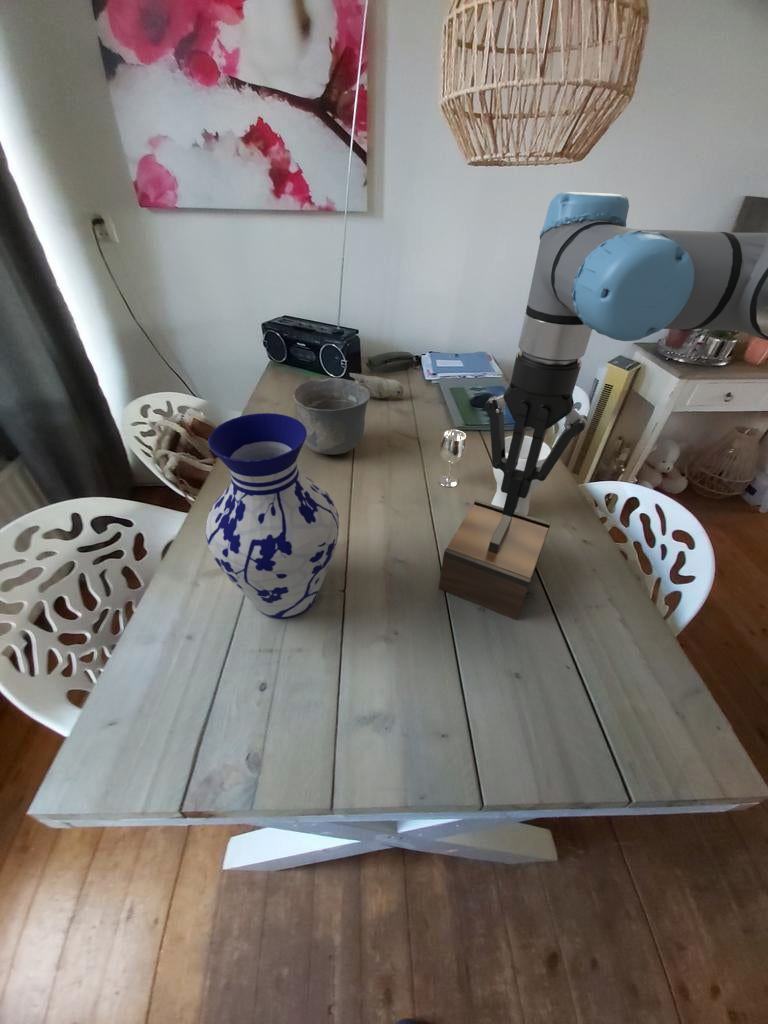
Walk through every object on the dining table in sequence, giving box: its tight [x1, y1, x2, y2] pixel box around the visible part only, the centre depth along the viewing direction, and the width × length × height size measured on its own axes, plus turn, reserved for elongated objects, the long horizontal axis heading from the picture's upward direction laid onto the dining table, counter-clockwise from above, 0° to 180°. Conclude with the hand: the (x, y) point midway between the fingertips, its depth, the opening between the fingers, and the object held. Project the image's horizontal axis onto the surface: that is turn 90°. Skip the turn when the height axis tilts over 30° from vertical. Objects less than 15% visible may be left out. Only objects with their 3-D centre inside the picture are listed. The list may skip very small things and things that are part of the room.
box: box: [438, 499, 552, 621], centre depth 76 cm, size 16×14×9 cm
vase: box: [205, 412, 340, 619], centre depth 65 cm, size 19×19×30 cm
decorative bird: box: [349, 372, 404, 400], centre depth 131 cm, size 5×16×8 cm, turn 85°
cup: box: [490, 435, 552, 516], centre depth 88 cm, size 11×11×15 cm
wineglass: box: [438, 429, 468, 488], centre depth 96 cm, size 6×6×12 cm
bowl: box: [292, 377, 371, 456], centre depth 105 cm, size 18×18×15 cm
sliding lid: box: [446, 503, 550, 580], centre depth 73 cm, size 13×14×3 cm
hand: (509, 510), depth 66 cm, fingers closed
